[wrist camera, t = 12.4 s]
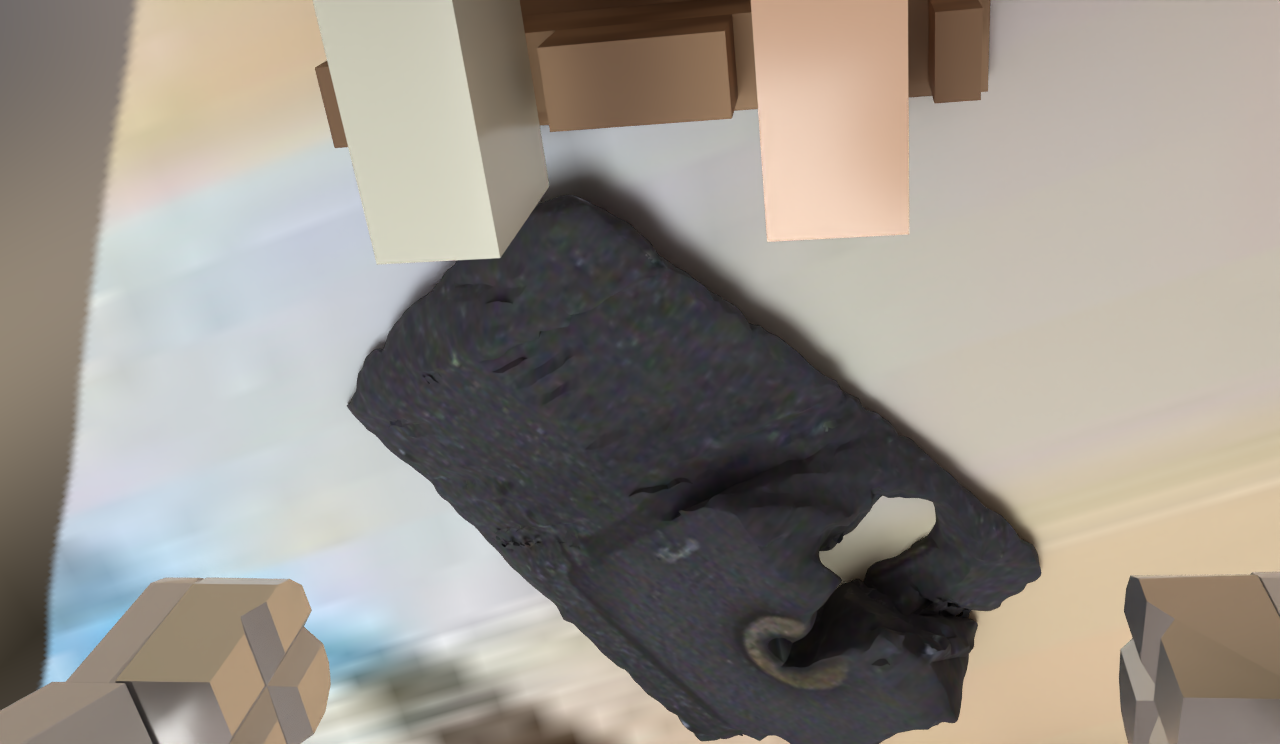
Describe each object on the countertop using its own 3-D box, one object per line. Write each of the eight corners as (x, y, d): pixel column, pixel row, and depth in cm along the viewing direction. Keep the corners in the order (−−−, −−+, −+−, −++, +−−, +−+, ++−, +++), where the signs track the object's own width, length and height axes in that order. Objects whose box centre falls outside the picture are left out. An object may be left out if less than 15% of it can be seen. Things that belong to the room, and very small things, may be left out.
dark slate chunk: (623, 95, 32) (591, 143, 28) (1073, 574, 38) (1102, 673, 33) (317, 387, 39) (255, 461, 35) (738, 759, 44) (728, 861, 40)
